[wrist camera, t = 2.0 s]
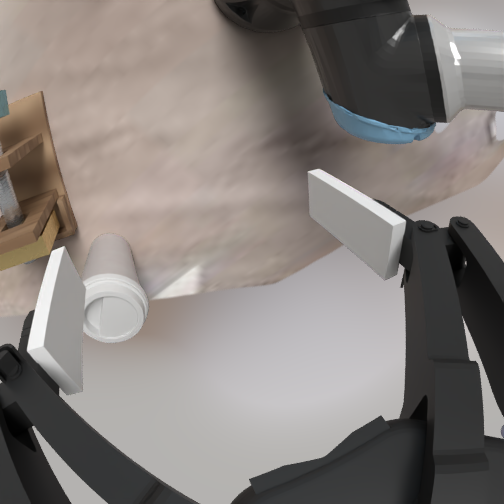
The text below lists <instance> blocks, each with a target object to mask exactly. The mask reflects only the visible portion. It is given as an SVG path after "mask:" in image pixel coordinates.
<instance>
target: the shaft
mask: <svg viewBox="0 0 504 504" xmlns="http://www.w3.org/2000/svg"><path fill="white" fill-rule="evenodd" d="M9 114H10V113H9V107H8V102H7V96H6V90H1V91H0V118H2V117H5V116H7V115H9ZM2 154H3V150H2V146H1V142H0V156H1V155H2ZM0 209H1V212H2V214H3V217H4V219H5V222H6V224H7V227H8V229H10V228H13V227H16V226H18V225H21V224H23V223H24V221H25V219H24V216H23V213H22V211H21V208H20V205H19V202H18V199H17V197H16V194H15V191H14V188H13V185H12V181H11V178H10V175H9V172H8V169H6V170H4V171H2V172H0ZM35 260H36V259H34V260H31V261H28V262H25V263H24V264H30V263H32V262H33V261H35Z"/></svg>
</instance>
